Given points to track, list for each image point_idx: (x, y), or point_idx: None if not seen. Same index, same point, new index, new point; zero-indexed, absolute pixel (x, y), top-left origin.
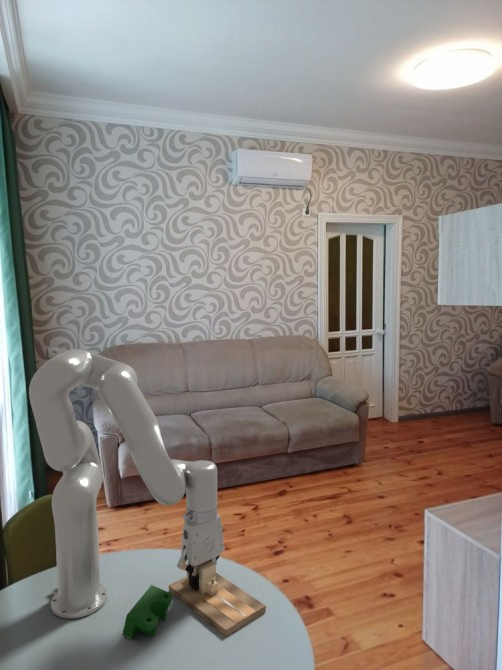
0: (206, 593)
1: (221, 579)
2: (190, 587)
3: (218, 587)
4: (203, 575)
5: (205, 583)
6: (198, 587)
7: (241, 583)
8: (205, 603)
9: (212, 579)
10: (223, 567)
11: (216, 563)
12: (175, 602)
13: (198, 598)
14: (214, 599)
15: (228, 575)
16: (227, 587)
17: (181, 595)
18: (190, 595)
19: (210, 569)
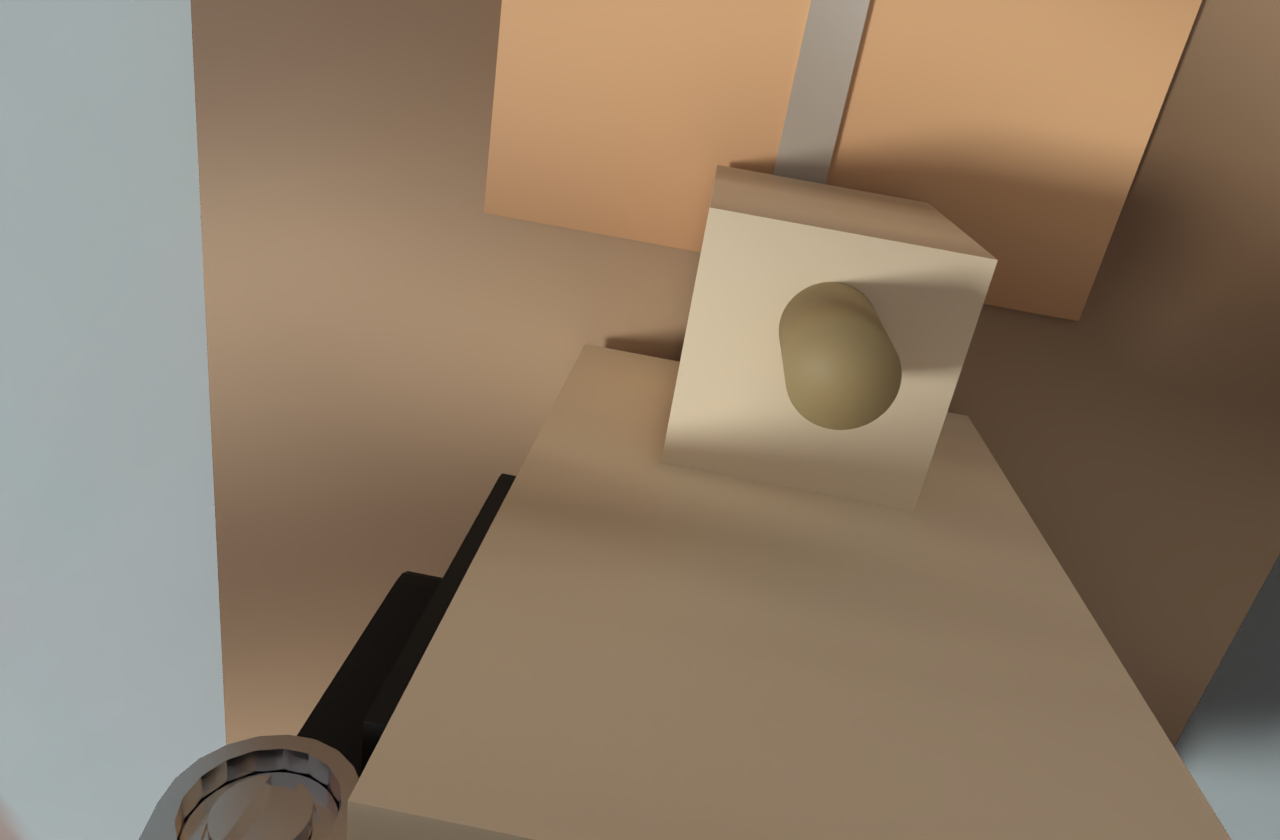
0: None
1: (289, 431)
2: None
3: (534, 302)
4: (1131, 732)
5: (935, 510)
6: None
7: (5, 98)
8: (1223, 141)
9: (845, 388)
10: (3, 652)
11: (183, 787)
12: (1209, 695)
13: (1126, 401)
14: (983, 48)
15: (63, 463)
16: (390, 126)
17: (1181, 718)
18: (1107, 593)
19: (747, 742)
